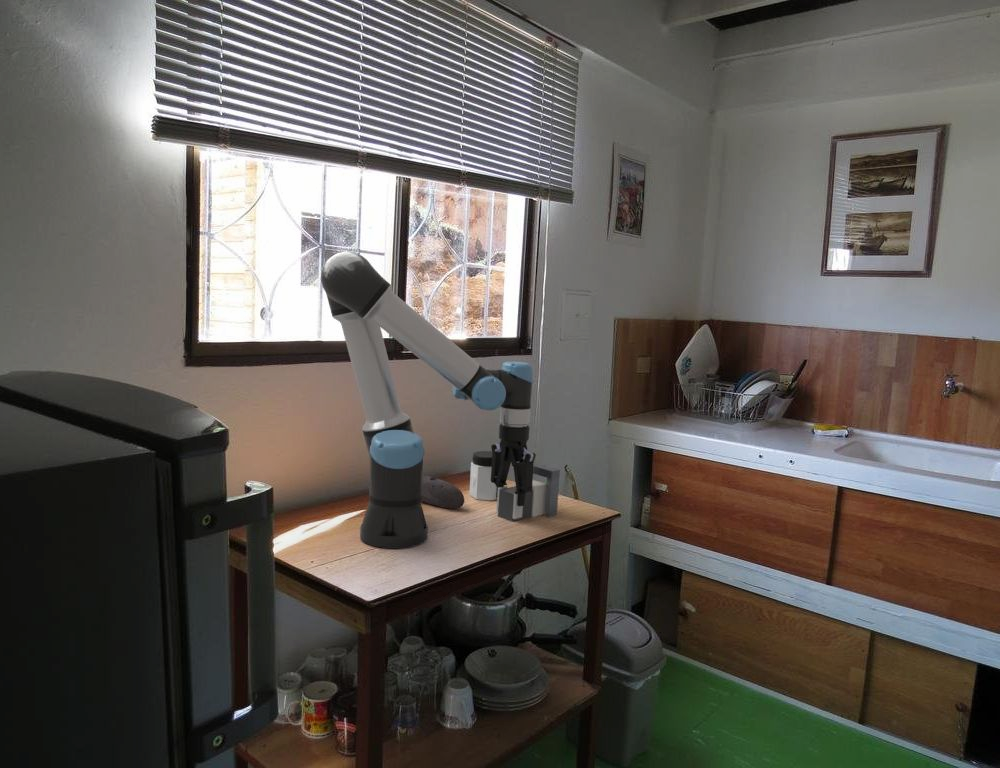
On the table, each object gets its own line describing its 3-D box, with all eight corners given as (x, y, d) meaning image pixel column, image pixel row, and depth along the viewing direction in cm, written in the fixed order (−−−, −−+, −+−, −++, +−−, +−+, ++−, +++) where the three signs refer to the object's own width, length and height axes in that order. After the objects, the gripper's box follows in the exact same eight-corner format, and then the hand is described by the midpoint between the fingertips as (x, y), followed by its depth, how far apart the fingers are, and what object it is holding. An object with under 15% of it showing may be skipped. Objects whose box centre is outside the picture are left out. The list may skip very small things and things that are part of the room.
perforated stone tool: (469, 510, 184) (470, 483, 183) (456, 514, 180) (457, 487, 179) (425, 498, 192) (426, 473, 191) (412, 502, 188) (413, 476, 187)
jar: (465, 493, 199) (467, 451, 197) (490, 490, 203) (493, 449, 201) (479, 502, 191) (481, 458, 190) (505, 499, 195) (508, 456, 193)
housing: (549, 517, 181) (552, 471, 180) (518, 506, 189) (521, 462, 188) (556, 515, 183) (559, 469, 182) (526, 504, 191) (529, 461, 190)
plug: (513, 521, 176) (515, 490, 175) (496, 515, 180) (498, 485, 179) (549, 512, 185) (551, 482, 184) (533, 507, 189) (535, 477, 188)
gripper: (551, 429, 172) (545, 521, 175) (500, 417, 185) (495, 503, 188) (530, 431, 167) (524, 527, 170) (479, 419, 180) (474, 508, 183)
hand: (509, 514), depth 179 cm, fingers closed on plug, 5 cm apart
